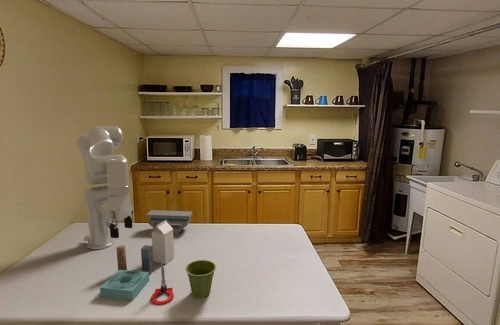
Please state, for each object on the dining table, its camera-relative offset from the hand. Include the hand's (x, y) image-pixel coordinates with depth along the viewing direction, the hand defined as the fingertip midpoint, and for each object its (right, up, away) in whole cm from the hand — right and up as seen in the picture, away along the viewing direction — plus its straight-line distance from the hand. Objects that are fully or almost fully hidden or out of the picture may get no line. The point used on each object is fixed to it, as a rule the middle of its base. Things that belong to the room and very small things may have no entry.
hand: (121, 232), depth 122 cm
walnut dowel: (-6, -21, +16) cm, 27 cm away
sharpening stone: (+3, -13, +62) cm, 64 cm away
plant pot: (+31, -25, +1) cm, 40 cm away
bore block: (0, -24, +4) cm, 24 cm away
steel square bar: (+5, -21, +16) cm, 27 cm away
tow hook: (+16, -25, -1) cm, 30 cm away
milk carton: (+9, -20, +28) cm, 35 cm away
